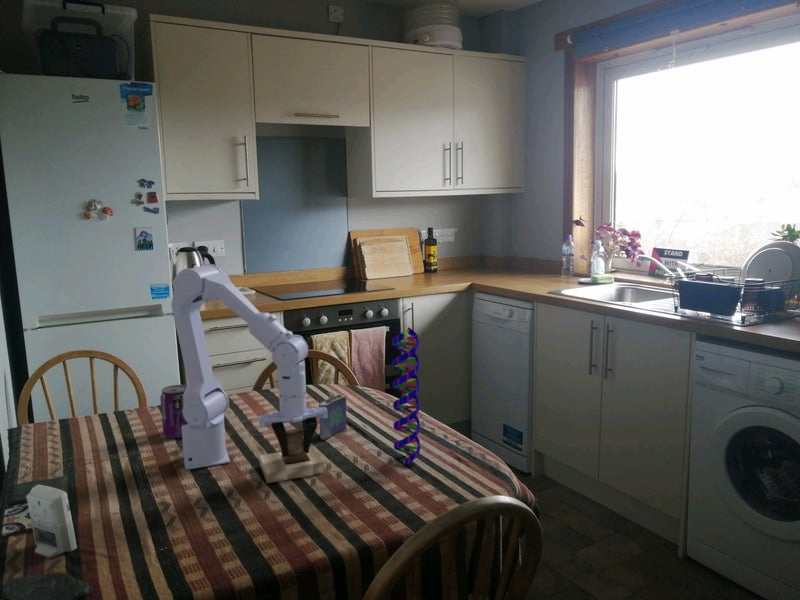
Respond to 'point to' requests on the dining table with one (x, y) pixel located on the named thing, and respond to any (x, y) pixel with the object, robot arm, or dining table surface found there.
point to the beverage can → (173, 410)
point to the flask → (333, 416)
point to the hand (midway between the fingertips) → (295, 453)
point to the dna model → (407, 394)
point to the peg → (294, 446)
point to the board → (290, 466)
